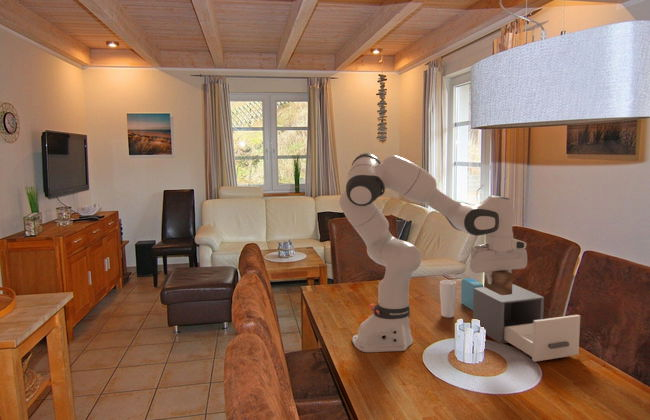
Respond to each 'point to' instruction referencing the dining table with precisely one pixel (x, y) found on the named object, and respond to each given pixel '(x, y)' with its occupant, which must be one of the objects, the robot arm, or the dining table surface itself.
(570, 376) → the dining table surface
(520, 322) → the cabinet
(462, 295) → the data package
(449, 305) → the drinking glass
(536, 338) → the drawer
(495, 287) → the walnut block
